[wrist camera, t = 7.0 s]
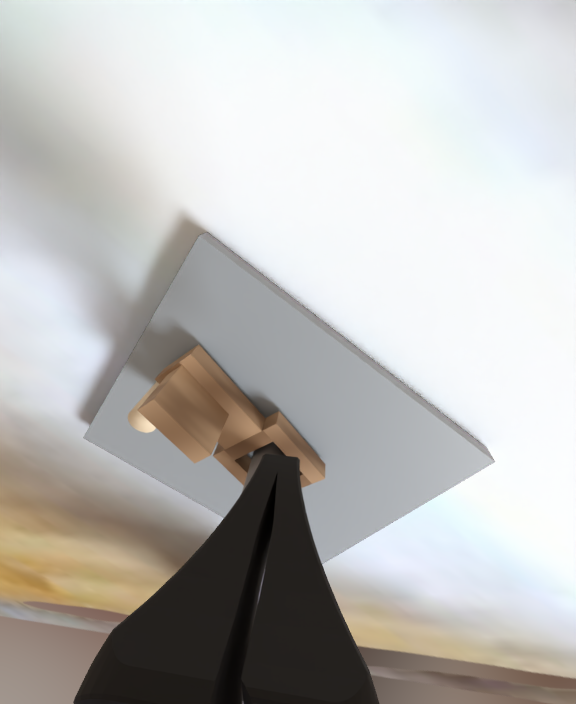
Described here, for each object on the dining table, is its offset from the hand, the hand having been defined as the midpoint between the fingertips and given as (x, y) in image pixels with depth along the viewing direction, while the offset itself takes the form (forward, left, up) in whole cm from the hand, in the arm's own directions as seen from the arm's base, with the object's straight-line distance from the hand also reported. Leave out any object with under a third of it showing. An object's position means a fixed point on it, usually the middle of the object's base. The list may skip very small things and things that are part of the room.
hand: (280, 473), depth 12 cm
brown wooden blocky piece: (-5, +1, -7) cm, 9 cm away
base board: (-6, -2, -9) cm, 11 cm away
